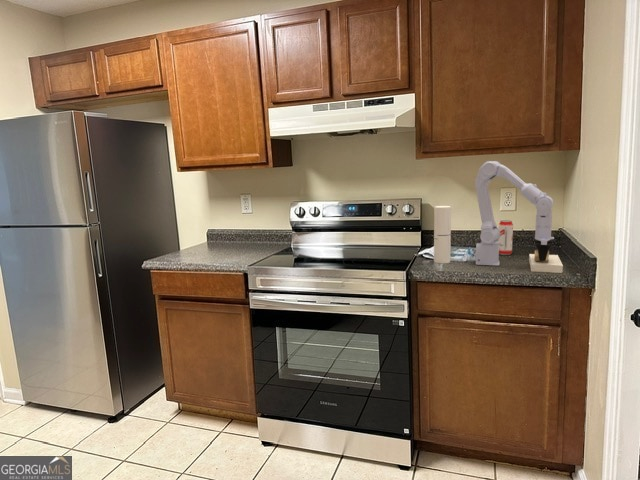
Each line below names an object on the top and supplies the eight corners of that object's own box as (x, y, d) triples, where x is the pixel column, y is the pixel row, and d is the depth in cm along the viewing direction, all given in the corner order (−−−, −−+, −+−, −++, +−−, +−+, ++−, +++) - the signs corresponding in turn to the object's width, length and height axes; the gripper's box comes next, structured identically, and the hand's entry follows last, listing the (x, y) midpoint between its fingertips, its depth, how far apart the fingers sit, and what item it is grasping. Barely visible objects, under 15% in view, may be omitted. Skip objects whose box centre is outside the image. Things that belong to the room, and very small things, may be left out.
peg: (534, 268, 175) (535, 251, 174) (533, 265, 180) (533, 249, 179) (549, 269, 174) (550, 252, 173) (547, 266, 179) (548, 249, 177)
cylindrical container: (446, 264, 191) (446, 207, 186) (431, 262, 195) (431, 207, 191) (452, 261, 196) (453, 206, 192) (438, 259, 201) (438, 205, 196)
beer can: (508, 252, 209) (509, 219, 207) (514, 255, 203) (515, 221, 200) (495, 253, 209) (496, 220, 206) (501, 255, 203) (502, 222, 200)
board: (531, 271, 173) (531, 264, 173) (529, 260, 191) (529, 253, 191) (562, 273, 169) (562, 265, 168) (557, 261, 187) (557, 255, 186)
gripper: (556, 229, 166) (554, 263, 168) (553, 223, 179) (551, 255, 181) (536, 228, 169) (534, 262, 171) (534, 223, 182) (532, 255, 184)
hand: (541, 259), depth 176 cm, fingers closed on peg, 5 cm apart
